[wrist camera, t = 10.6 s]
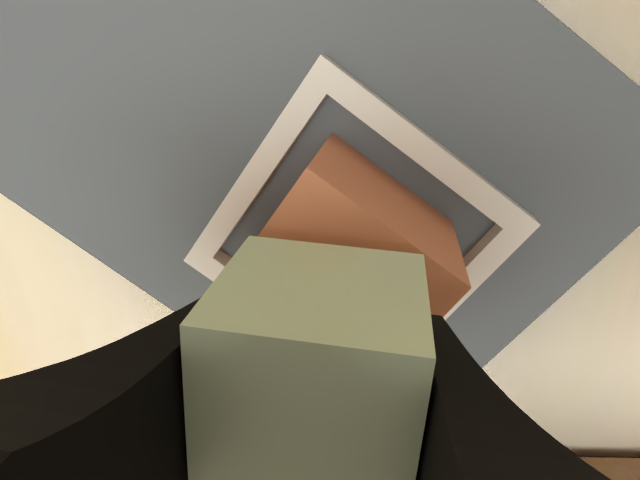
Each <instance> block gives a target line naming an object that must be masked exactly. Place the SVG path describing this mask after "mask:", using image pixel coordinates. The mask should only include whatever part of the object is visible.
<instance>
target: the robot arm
mask: <svg viewBox="0 0 640 480" xmlns="http://www.w3.org/2000/svg"><path fill="white" fill-rule="evenodd" d="M199 299H200V298H199ZM199 299H197V300H195V301H193V302H192V303H190V304H188V305H186V306H184V307H183V308H181V309H179V310H177V311H175V312H173V313H172V314H170V315H168V316H166V317H164V318H162V319H161V320H159V321H157V322H155V323H153V324H151V325H148V326H146V327H144V328H142V329H140V330H138V331H136V332H134V333H132V334H130V335H128V336H126V337H124V338H122V339H120V340H117V341H115V342H113V343H110V344H108V345H106V346H103V347H101V348H98V349H96V350H93V351H90V352H88V353H85V354H83V355H80V356H77V357H75V358H72V359H69V360H66V361H63V362H59V363H56V364H53V365H50V366H46V367H43V368H40V369H37V370H33V371H30V372H27V373H23V374H20V375H16V376H13V377H9V378H5V379H1V380H0V480H188V468H187V450H186V432H185V414H184V397H183V379H182V361H181V343H180V326H179V325H180V324H181V323H182V321H183V320H184V319H185V317H186V316H187V315H188V314H189V312H190V311H191V310H192V308H193V307H194V306H195V305H196V303H197V302H198V301H199ZM431 319H432V328H433V336H434V345H435V353H436V363H435V369H434V374H433V380H432V386H431V392H430V398H429V404H428V410H427V416H426V421H425V427H424V433H423V439H422V445H421V451H420V457H419V463H418V468H417V474H416V480H611V479H610V478H608V477H607V476H605V475H604V474H602V473H601V472H599V471H598V470H596V469H595V468H594V467H592V466H591V465H589V464H588V463H586V462H585V461H584V460H582V459H581V458H580V457H578V456H577V455H576V454H574V453H573V452H572V451H570V450H569V449H568V448H566V447H565V446H564V445H562V444H561V443H560V442H558V441H557V440H556V439H555V438H553V437H552V436H551V435H550V434H548V433H547V432H546V431H545V430H544V429H542V428H541V427H540V426H539V425H538V424H537V423H536V422H534V421H533V420H532V419H531V418H530V417H529V416H528V415H527V414H525V413H524V412H523V411H522V410H521V409H520V408H519V407H518V406H517V405H516V404H515V403H514V402H513V401H512V400H510V399H509V398H508V397H507V395H506V394H505V393H504V392H503V391H502V390H501V389H500V388H499V387H498V386H497V385H496V384H495V383H494V382H493V381H492V380H491V379H490V377H489V376H488V375H487V374H486V373H485V372H484V371H483V369H482V368H481V367H480V366H479V364H478V363H477V362H476V361H475V360H474V358H473V357H472V356H471V355H470V353H469V352H468V351H467V349H466V348H465V347H464V345H463V344H462V343H461V341H460V340H459V339H458V337H457V336H456V334H455V333H454V332H453V330H452V329H451V327H450V326H449V325H448V323H447V322H446V321H445V319H444V318H443V317H442V316H440V315H432V314H431Z"/></svg>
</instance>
